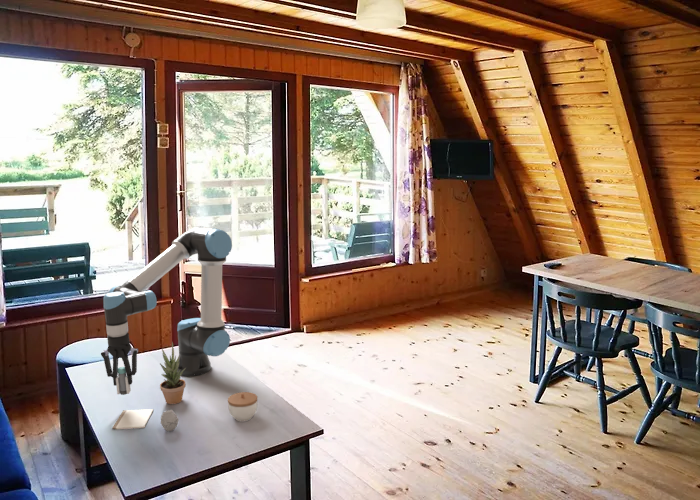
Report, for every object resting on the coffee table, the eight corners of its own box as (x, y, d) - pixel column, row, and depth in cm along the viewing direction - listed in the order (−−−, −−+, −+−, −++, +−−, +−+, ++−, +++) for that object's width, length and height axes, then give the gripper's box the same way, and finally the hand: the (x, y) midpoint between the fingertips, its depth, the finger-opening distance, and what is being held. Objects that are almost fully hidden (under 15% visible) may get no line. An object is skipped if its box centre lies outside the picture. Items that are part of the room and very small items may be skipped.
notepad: (153, 410, 224) (153, 409, 224) (144, 428, 210) (144, 426, 210) (123, 411, 223) (123, 410, 223) (112, 429, 209) (112, 427, 209)
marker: (129, 391, 226) (126, 366, 224) (127, 394, 224) (124, 369, 221) (121, 391, 226) (118, 367, 224) (119, 395, 223) (116, 370, 221)
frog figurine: (173, 423, 213) (172, 405, 212) (182, 430, 208) (181, 412, 207) (157, 429, 209) (156, 410, 208) (166, 436, 204) (165, 417, 203)
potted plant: (163, 408, 226) (159, 346, 221) (159, 399, 234) (155, 339, 230) (190, 402, 230) (186, 342, 226) (184, 394, 239) (181, 335, 234)
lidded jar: (230, 411, 223) (229, 388, 221) (259, 410, 224) (258, 387, 222) (226, 425, 212) (225, 400, 211) (257, 423, 213) (256, 399, 211)
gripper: (142, 329, 224) (147, 387, 229) (99, 331, 223) (105, 389, 228) (137, 335, 217) (143, 395, 222) (92, 338, 216) (99, 398, 220)
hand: (124, 392), depth 225 cm, fingers closed on marker, 3 cm apart
